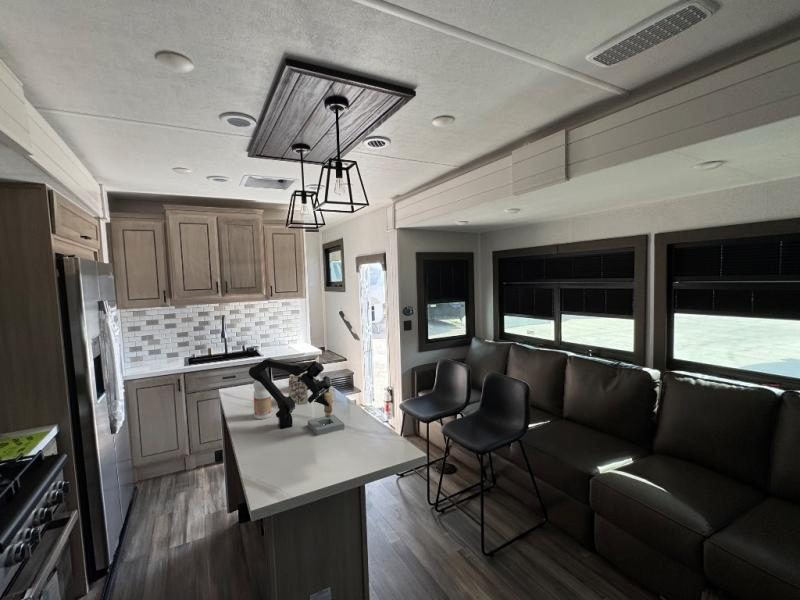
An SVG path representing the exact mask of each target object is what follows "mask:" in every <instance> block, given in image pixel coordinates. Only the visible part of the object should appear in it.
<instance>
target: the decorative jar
mask: <svg viewBox="0 0 800 600" xmlns="http://www.w3.org/2000/svg"><path fill="white" fill-rule="evenodd" d="M299 376H302V374H300V375H298V376H295V375H294V376H293V377H290V378H288V396H290V397H291V398H292V399H293V400H294V403H295V404H300V405H305V404H304V403H308V404H309V402H308V398H309V395H308V394H309V390H307V388H308V387H307V386H306V385H305V384H304V383H303V382H302V381H300V382H297V380H298V377H299Z"/></svg>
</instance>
